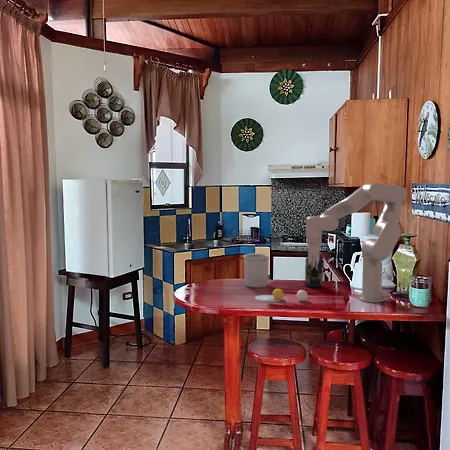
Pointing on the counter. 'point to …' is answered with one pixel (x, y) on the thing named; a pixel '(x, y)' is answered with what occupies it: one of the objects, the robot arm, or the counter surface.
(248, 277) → the utensil holder
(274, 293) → the object ball
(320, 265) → the blue cylindrical canister
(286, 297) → the counter surface
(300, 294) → the cue ball
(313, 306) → the counter surface
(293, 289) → the counter surface
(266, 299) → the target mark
